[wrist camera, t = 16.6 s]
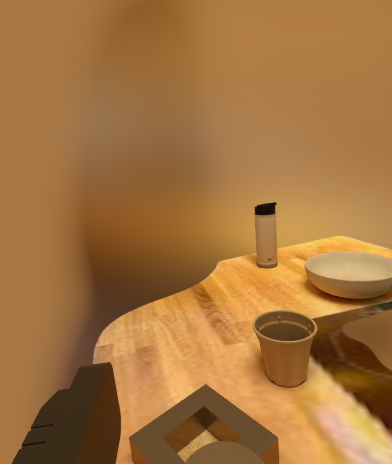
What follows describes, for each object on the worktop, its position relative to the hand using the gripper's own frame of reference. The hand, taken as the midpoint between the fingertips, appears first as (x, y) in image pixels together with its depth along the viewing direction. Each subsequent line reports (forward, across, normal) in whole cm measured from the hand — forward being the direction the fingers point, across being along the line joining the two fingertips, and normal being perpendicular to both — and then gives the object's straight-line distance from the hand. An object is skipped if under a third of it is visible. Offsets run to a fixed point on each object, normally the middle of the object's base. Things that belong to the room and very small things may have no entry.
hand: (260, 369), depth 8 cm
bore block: (+21, -2, -28) cm, 35 cm away
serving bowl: (+60, +39, -28) cm, 76 cm away
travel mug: (+83, +26, -28) cm, 92 cm away
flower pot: (+34, +13, -28) cm, 46 cm away
